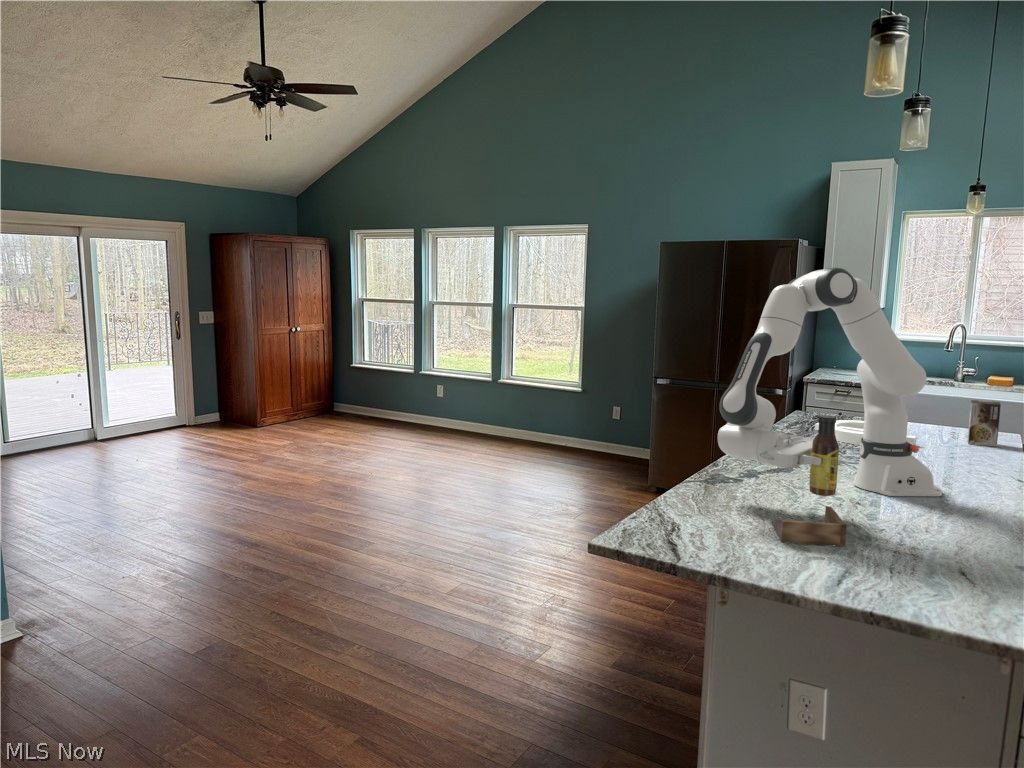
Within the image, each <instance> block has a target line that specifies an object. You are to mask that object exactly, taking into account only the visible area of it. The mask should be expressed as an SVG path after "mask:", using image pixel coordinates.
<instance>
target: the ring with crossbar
mask: <svg viewBox="0 0 1024 768" xmlns="http://www.w3.org/2000/svg"><path fill="white" fill-rule="evenodd" d="M814 430H815V431H818V430H819V422H817V423H814ZM863 431H864V420H858V419H857V420H852V419H846V420H845V419H841V420H839V419H836V423H835V437H836V440H837V441H840V442H839V443H841V442H845V443H844V444H846V443H850V444H849V445H852V444H856V445H855V446H860V443H861V438H862V437H863ZM917 438H918V437H917V436H915V435H914V436H913V435H907V436H906V441H907V442H908V443H910V444H912V445H916V444H917Z"/></svg>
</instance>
